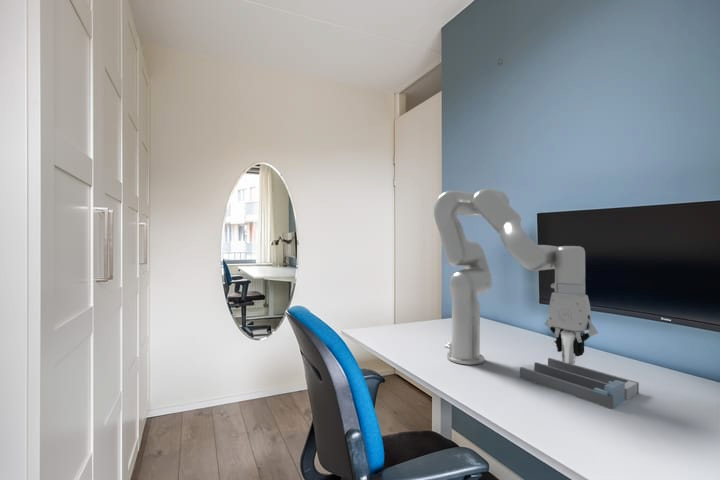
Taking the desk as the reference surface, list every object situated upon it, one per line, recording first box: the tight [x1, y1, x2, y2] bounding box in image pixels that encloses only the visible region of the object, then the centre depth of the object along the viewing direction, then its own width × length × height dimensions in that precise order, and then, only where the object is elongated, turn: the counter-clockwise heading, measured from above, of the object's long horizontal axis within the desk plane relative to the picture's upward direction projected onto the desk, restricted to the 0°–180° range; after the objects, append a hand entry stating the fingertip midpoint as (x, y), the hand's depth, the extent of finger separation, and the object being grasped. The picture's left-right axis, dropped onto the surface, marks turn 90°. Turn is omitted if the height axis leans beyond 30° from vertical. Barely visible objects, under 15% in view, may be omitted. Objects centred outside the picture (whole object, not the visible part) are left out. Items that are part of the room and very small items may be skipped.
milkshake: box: [561, 330, 577, 365], centre depth 105 cm, size 4×5×10 cm
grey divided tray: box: [519, 357, 640, 410], centre depth 107 cm, size 25×17×5 cm
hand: (569, 352), depth 105 cm, fingers closed on milkshake, 4 cm apart
